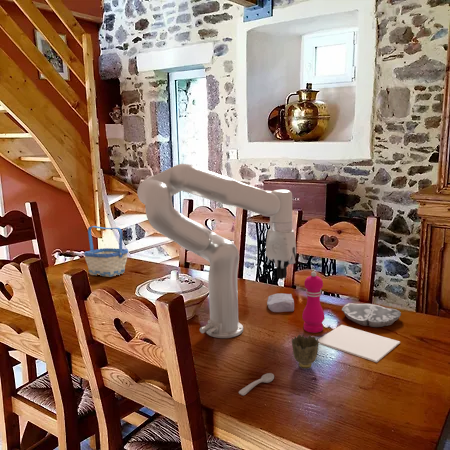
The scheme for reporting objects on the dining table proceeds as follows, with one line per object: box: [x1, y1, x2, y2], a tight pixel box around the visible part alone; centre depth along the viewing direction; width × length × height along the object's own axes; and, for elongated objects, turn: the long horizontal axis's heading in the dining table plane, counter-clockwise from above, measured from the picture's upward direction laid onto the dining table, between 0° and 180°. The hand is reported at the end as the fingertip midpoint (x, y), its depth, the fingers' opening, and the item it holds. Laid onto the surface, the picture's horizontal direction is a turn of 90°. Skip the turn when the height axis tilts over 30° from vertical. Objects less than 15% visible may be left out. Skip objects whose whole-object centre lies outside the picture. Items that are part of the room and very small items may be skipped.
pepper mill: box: [302, 271, 326, 334], centre depth 149 cm, size 7×7×20 cm
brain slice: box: [341, 302, 402, 328], centre depth 157 cm, size 20×17×3 cm
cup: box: [291, 334, 320, 370], centre depth 126 cm, size 8×7×8 cm
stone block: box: [266, 293, 295, 313], centre depth 172 cm, size 12×5×10 cm
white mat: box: [317, 324, 401, 363], centre depth 140 cm, size 16×20×1 cm
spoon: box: [238, 372, 275, 396], centre depth 118 cm, size 3×12×2 cm, turn 131°
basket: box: [83, 225, 129, 278], centre depth 218 cm, size 21×16×24 cm
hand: (281, 277), depth 157 cm, fingers closed
